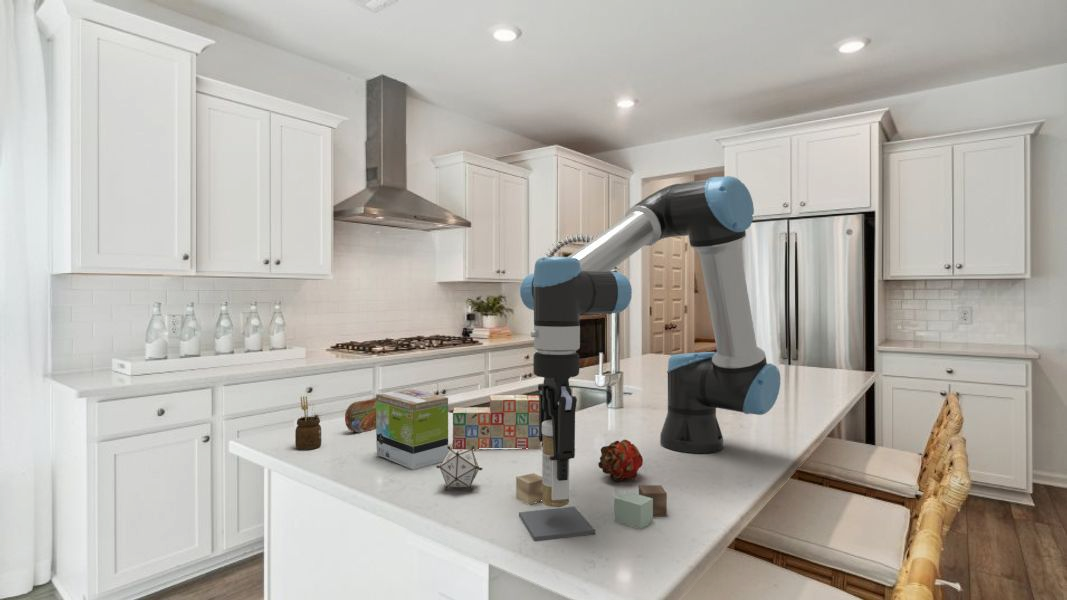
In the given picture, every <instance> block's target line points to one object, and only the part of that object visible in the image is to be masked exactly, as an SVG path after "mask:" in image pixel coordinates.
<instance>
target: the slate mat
mask: <svg viewBox="0 0 1067 600" xmlns="http://www.w3.org/2000/svg"><path fill="white" fill-rule="evenodd" d="M518 516H519V518H520V520H521V521H522V523H523V525H524V527H525V528H526V529H527V531H528V533H529V534H530V536H531V538H532V539H533V541H534V542H535V541H536V542H537V541H546V540H552V539H561V538H563V539H564V538H569V537H577V536H578V537H579V536H580V537H581V536H587V535H595V534H596V529H595V527H593V526H592V525H591V523H590V522H589V521H588V520H587V519H586V518H585V517H584V515H583V514H582V512H580V511H579V510H578V509H577V508H576V506H564V507H554V508H549V509H548V508H547V509H537V510H529V511H519V512H518Z"/></svg>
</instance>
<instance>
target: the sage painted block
mask: <svg viewBox="0 0 1067 600" xmlns="http://www.w3.org/2000/svg"><path fill="white" fill-rule="evenodd" d="M613 501H614V506H613V507H614V509H613V510H614V517H613V519H614V522H616V523H620V524H622V525H626V526H630V527H633V528H635V529H639V530H642V529H644V528H645V527H647V526H648V525H650V524H651V523H653V522H654V521H653V519H654V516H653V498H649V497H646V496H642V495H639V493H636V492H635V493H634V492H630V491H625V492H623V493H621V494H619V495H617V496H616V497H614V500H613Z"/></svg>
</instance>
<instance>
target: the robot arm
mask: <svg viewBox="0 0 1067 600" xmlns="http://www.w3.org/2000/svg"><path fill="white" fill-rule="evenodd" d="M754 214H755V209H754V202H753V198H752V196H751V193H750V191H749V189H748V188H747V186H746V185H745V183H743V182H742V181H741V180H740V179H739V178H737V177H735V176H730V175H729V176H728V175H727V176H713V177H708V178H707V177H706V178H704V179H698V180H693V181H687V182H682V183H674V184H671V185H668V186H665V187H663V188H661V189H658V190H656V191H655V192H654V193H652V194H650V195H648V196H646V197H645V198H644V199H641V200H640V201H639V202H638V203H637V202H636V204H634V205H633V206H631V207H630V208H628V210H627V211H626V213H625V215H624V218H622V219H620V220H619V221H618V222H616V223H615V224H613V225H612V226H610V227H609V228H607V229H606V230H604V231H603V232H601V233H600V234H599V235H597V236H596V237H595V238H593V239H591V240H590V241H589V242H586V244H584V245H583V246H581V247H580V248H578V249H577V250H576V251H574V252H573V253H571V254H570V255H568V256H545V257H540V258H538V259H536V261H535V263H534V269H533V271H534V273H530V274H528V275H526V276H525V277H524V279H523V280H522V281H521V285H520V288H519V294H520V298H521V301H522V303H523V305H524V306H525V307H526V308H528V309H529V310H532V311H533V330H534V331H531V332H530V337H531V338H533V349H534V350H536V351H537V352H534V354H533V360H532V361H533V369H532V370H533V374H534V376H536V377H539V378H543V382H542V383H540V384H538V386H537V391H538V396H539V441H540V443H541V446H542V448H543V436H542V422H543V421H546V420H552V428H553V447H554V456H550V460H551V461H552V500H562V499H569V500H570V460H571V459H575V457H576V456H575V455H576V454H575V452H576V451H575V450H576V446H575V445H576V444H575V443H576V442H575V441H576V410H577V409H576V408H577V403H578V399H577V397H576V396H573V395H572V389H571V387H570V381H569V380H570V379H571V378H575V377H577V376H578V375H579V374H580V354H579V353H578V352H577V351H578V350H579V349H580V347H581V327H580V326H581V325H580V323H581V320H580V319H581V318H580V317H581V315H609V316H610V315H612V314H617V313H621V312H623V311H624V310H626V309H627V308H628V306H629V305H630V304H631V300H632V294H633V291H632V285H631V282H630V280H629V279H628V278H627V277H626V275H625V274H623V273H621V272H614V271H612V270H613V269H615V268H616V267H618V266H619V265H620V264H621V263H623V262H624V261H626V260H627V259H628V258H629V257H631V256H632V255H633V254H635V253H636V252H638V251H639V250H641V249H642V248H643V247H644V246H646V247H647V246H652V245H655V244H656V243H657V242H658V241H660V240H663V239H667V238H672V237H685V236H688V239H689V245H690V248H692V249H693V250H695V251H697V252H698V255H699V260H700V264H701V270H702V275H703V281H704V288H705V293H706V297H707V303H708V308H709V315H710V320H711V325H712V330H713V335H714V340H715V341H714V342H715V345H716V346H715V347H716V352H715V351H703V352H702V351H701V352H689V353H678V354H673V355H671V356H670V357H669V358H668V365H667V371H666V374H667V413H666V417H665V420H664V423H663V426H662V428H661V431H660V434H659V435H660V437H659V439H660V440H659V441H660V445H661V446H663V447H664V448H666V449H669V450H673V451H677V452H682V453H690V454H691V453H692V454H708V453H716V452H719V451H722V450H723V449H724V437H723V434H722V430H721V427H720V424H719V422H718V418H717V409H721V410H727V411H731V412H736V413H737V412H738V413H744V414H745V415H750V414H751V415H756V416H763V415H765V414H767V413H768V412H770V410H771V409H773V407H774V405H775V404H776V401H777V399H778V396H779V393H780V388H781V374H780V373H781V372H780V370H779V368H778V367H777V366H776V365H775V364H773V363H768V362H767V356H766V355H767V354H766V351H765V350H763V349H762V348H761V347H759V346H758V345H757V339H756V334H755V328H754V322H753V315H752V310H751V303H750V298H749V297H750V296H749V292H748V287H747V286H748V285H747V280H746V274H745V267H744V261H743V256H742V250H741V244H742V242H743V241H744V240H745V238H746V237H747V233H746V230H748V229H749V228H750V227H751V225H752V223H753V222H754V221H753V220H754V217H753V215H754Z"/></svg>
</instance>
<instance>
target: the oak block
mask: <svg viewBox="0 0 1067 600" xmlns="http://www.w3.org/2000/svg"><path fill="white" fill-rule="evenodd" d="M515 478H516V479H515V486H516V487H515V498H516V499H517V500H518V501H520V500H521V501H520V502H522V501H523V503H524V502H525V504H526V503H527V504H526V505H528V504H530V505H533V504H532V503H534V504H536V503H535V502H537V503H539V502H538V501H541V500H542V498H543V483H542V475H541V476H540V475H538V474H537V473H535V472H533V473H529V474H524V475H519V476H516V477H515ZM541 502H542V501H541Z"/></svg>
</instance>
